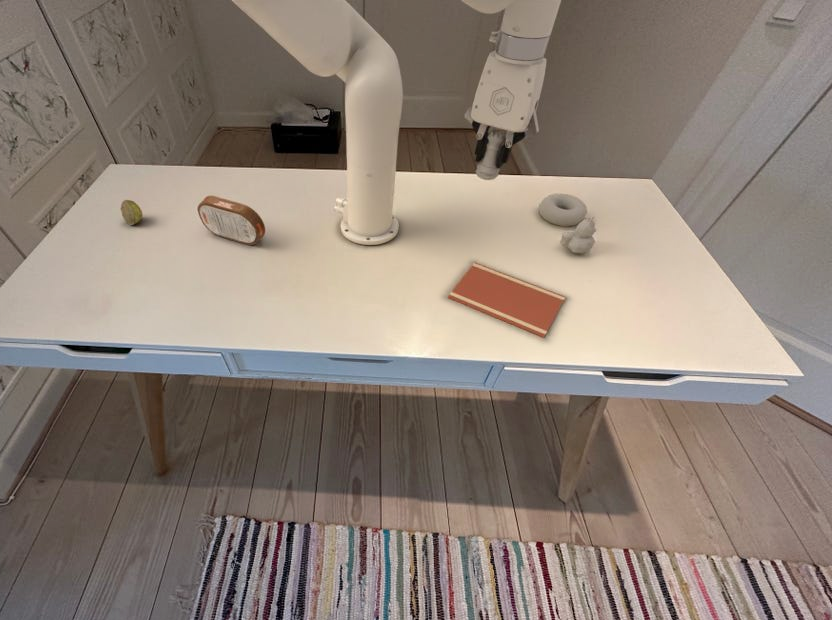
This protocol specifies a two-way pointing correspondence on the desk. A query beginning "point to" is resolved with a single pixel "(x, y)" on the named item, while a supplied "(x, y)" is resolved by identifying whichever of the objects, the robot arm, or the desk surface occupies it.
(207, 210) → the tin
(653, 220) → the desk surface
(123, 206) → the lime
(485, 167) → the rook chess piece
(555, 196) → the donut
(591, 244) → the grey lumpy figurine
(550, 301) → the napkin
